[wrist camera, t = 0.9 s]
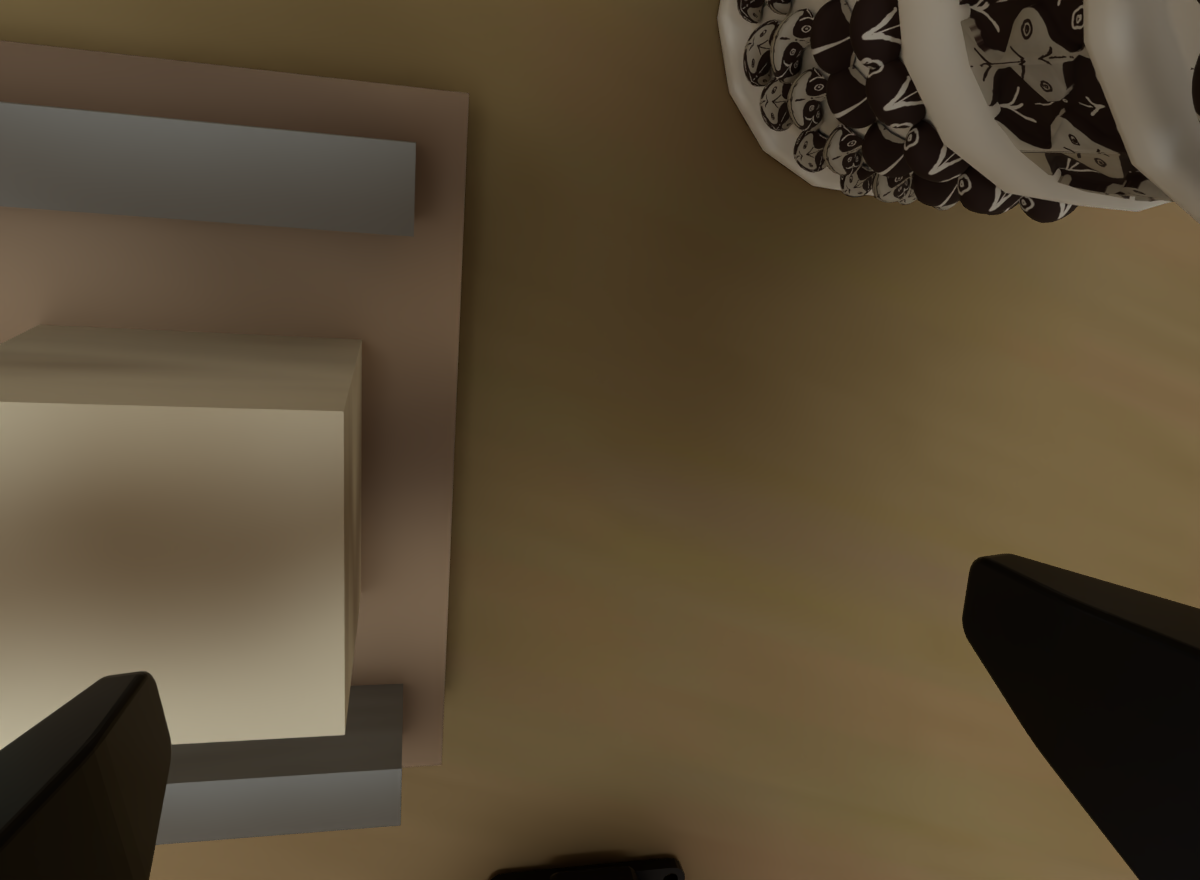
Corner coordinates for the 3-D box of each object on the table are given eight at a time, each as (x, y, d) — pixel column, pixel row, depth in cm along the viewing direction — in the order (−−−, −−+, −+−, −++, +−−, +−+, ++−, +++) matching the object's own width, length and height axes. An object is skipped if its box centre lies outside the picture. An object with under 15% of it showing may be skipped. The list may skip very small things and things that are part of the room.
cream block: (361, 593, 19) (345, 735, 15) (71, 599, 18) (-44, 756, 14) (362, 339, 18) (343, 410, 13) (39, 324, 16) (-109, 398, 12)
